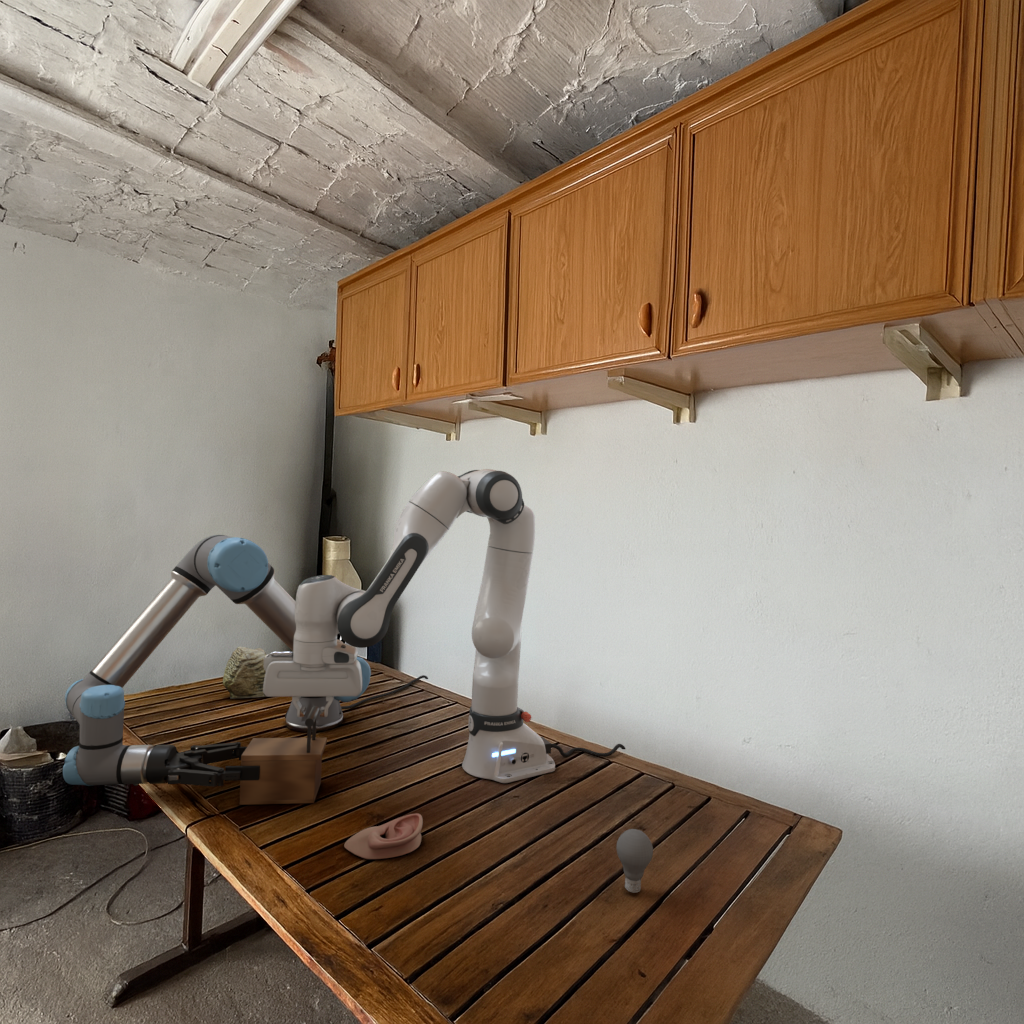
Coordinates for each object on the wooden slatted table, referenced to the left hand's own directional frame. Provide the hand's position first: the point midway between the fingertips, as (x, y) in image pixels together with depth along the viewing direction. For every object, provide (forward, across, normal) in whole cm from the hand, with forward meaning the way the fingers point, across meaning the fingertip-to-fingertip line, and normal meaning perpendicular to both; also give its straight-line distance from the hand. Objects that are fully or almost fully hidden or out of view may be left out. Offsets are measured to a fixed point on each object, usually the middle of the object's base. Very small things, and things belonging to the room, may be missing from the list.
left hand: (265, 762), depth 134 cm
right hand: (+9, 0, +10) cm, 14 cm away
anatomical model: (+26, +21, -7) cm, 34 cm away
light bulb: (+68, +39, -7) cm, 78 cm away
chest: (+4, 0, -7) cm, 8 cm away
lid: (+4, 0, +2) cm, 5 cm away
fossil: (-19, -68, -7) cm, 70 cm away
